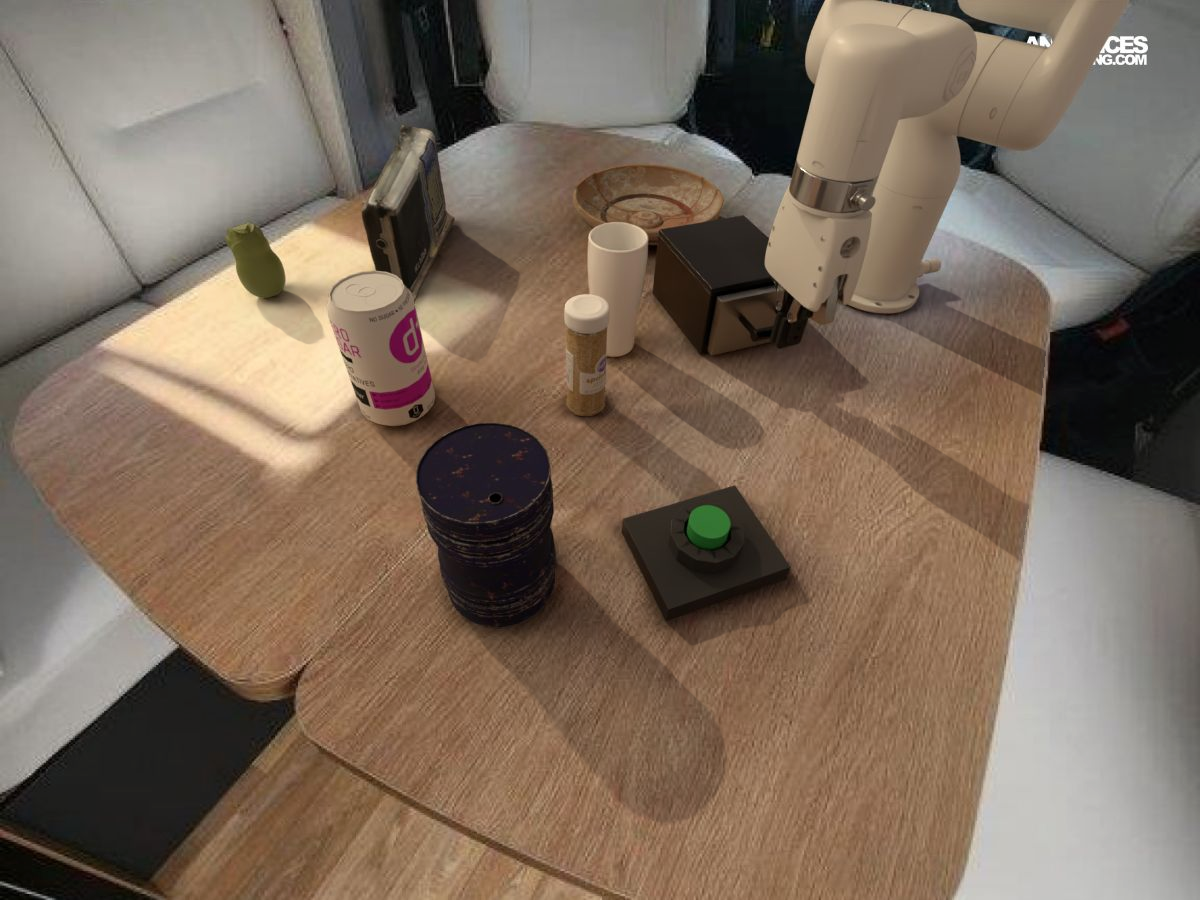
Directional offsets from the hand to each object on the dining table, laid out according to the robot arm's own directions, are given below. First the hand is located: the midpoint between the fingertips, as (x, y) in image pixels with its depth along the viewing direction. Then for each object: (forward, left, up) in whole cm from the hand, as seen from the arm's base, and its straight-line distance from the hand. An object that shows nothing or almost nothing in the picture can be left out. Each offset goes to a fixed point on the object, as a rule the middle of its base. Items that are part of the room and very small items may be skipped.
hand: (784, 342), depth 72 cm
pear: (+56, -38, -6) cm, 68 cm away
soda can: (+43, -10, -6) cm, 45 cm away
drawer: (0, -10, -5) cm, 11 cm away
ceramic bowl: (-1, -40, -6) cm, 41 cm away
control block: (+20, +20, -6) cm, 29 cm away
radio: (+35, -41, -6) cm, 55 cm away
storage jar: (+38, +16, -6) cm, 41 cm away
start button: (+20, +20, -2) cm, 28 cm away
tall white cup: (+16, -12, -6) cm, 21 cm away
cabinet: (0, -14, -6) cm, 15 cm away
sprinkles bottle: (+23, -3, -6) cm, 24 cm away
